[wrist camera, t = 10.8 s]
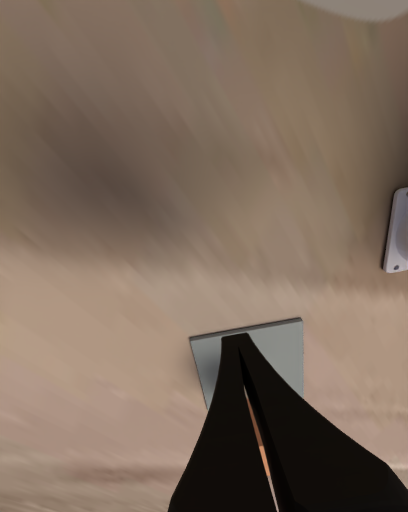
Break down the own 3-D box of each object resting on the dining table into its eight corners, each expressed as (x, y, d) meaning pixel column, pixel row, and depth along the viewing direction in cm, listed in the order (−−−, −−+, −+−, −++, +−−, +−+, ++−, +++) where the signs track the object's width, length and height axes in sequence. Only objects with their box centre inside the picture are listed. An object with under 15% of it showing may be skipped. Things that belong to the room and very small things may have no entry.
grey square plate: (301, 317, 24) (303, 321, 24) (301, 393, 29) (303, 397, 28) (190, 337, 24) (190, 341, 24) (208, 409, 29) (209, 414, 28)
